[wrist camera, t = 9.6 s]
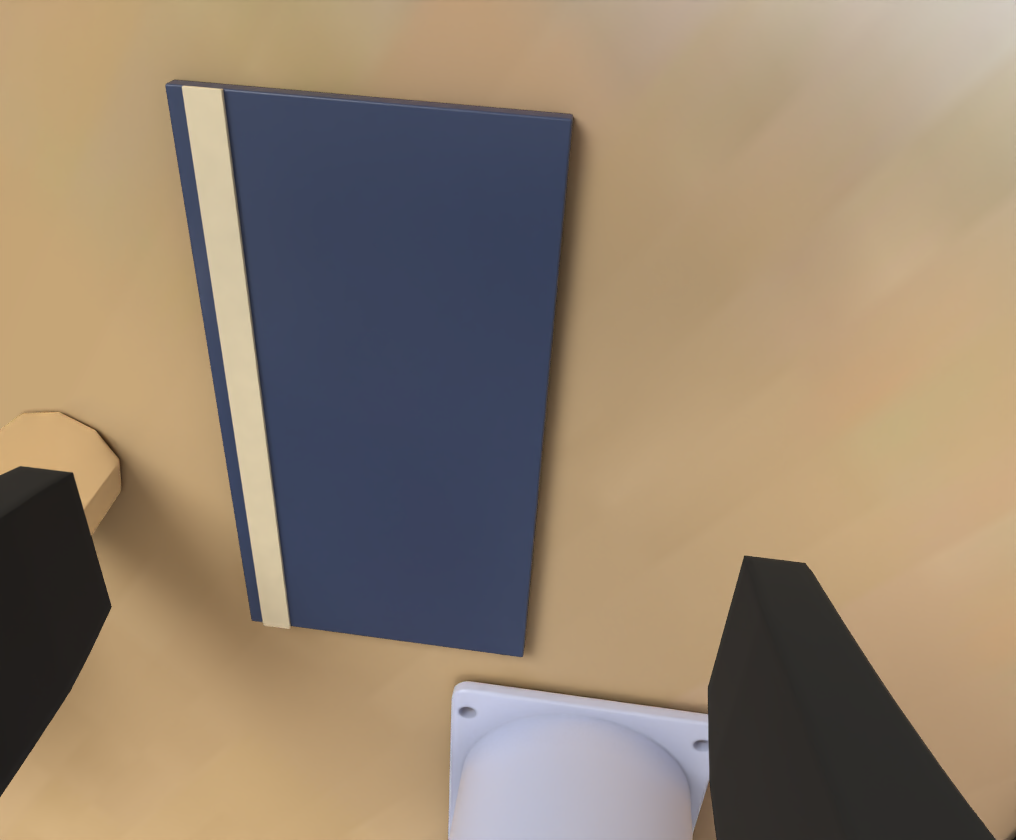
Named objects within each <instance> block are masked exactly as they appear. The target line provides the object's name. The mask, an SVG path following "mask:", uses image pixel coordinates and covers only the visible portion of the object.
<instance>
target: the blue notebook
mask: <svg viewBox="0 0 1016 840" xmlns="http://www.w3.org/2000/svg"><path fill="white" fill-rule="evenodd" d="M166 93H167V99H168V105H169V111H170V117H171V124H172V130H173V136H174V142H175V148H176V154H177V161H178V167H179V173H180V179H181V185H182V192H183V198H184V204H185V210H186V216H187V223H188V229H189V235H190V241H191V247H192V254H193V260H194V266H195V272H196V278H197V285H198V291H199V297H200V303H201V309H202V316H203V322H204V328H205V334H206V340H207V346H208V353H209V359H210V365H211V371H212V377H213V384H214V390H215V396H216V402H217V408H218V415H219V421H220V427H221V433H222V439H223V446H224V452H225V458H226V464H227V470H228V477H229V483H230V489H231V495H232V501H233V507H234V514H235V520H236V526H237V532H238V538H239V545H240V551H241V557H242V563H243V569H244V576H245V582H246V588H247V594H248V600H249V607H250V613H251V619H252V621H258V622H263V625H264V626H271V627H278V628H286V629H290V628H291V626H295V627H302V628H310V629H317V630H325V631H332V632H339V633H347V634H354V635H362V636H369V637H376V638H384V639H391V640H399V641H406V642H413V643H421V644H428V645H436V646H443V647H450V648H458V649H465V650H473V651H480V652H487V653H495V654H502V655H510V656H517V657H523V654H524V647H525V636H526V625H527V614H528V603H529V592H530V582H531V571H532V560H533V549H534V538H535V527H536V517H537V506H538V495H539V484H540V473H541V462H542V451H543V441H544V430H545V419H546V408H547V397H548V386H549V376H550V365H551V354H552V343H553V332H554V321H555V310H556V300H557V289H558V278H559V267H560V256H561V245H562V234H563V224H564V213H565V202H566V191H567V180H568V169H569V159H570V148H571V137H572V126H573V115H572V114H563V113H552V112H540V111H529V110H517V109H506V108H494V107H482V106H471V105H459V104H448V103H436V102H425V101H413V100H402V99H390V98H379V97H367V96H356V95H344V94H333V93H321V92H309V91H298V90H286V89H275V88H263V87H252V86H240V85H229V84H217V83H206V82H194V81H183V80H173V81H171V82H169V83H167V84H166Z"/></svg>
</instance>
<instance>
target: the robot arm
mask: <svg viewBox="0 0 1016 840" xmlns="http://www.w3.org/2000/svg"><path fill="white" fill-rule="evenodd" d="M111 607H112V606H111V603H110V599H109V596H108V592H107V589H106V585H105V582H104V579H103V575H102V572H101V568H100V565H99V561H98V558H97V554H96V551H95V547H94V544H93V540H92V537H91V533H90V530H89V526H88V523H87V519H86V516H85V512H84V509H83V505H82V502H81V498H80V495H79V491H78V488H77V484H76V481H75V477H74V474H73V472H65V471H57V470H49V469H41V468H33V467H25V466H19V467H17V468H15V469H12V470H10V471H8V472H6V473H4V474H2V475H0V797H1V795H2V794H3V792H4V791H5V789H6V788H7V786H8V785H9V783H10V782H11V780H12V779H13V777H14V776H15V774H16V773H17V771H18V770H19V768H20V767H21V765H22V764H23V762H24V761H25V759H26V758H27V756H28V755H29V753H30V752H31V750H32V749H33V747H34V746H35V744H36V743H37V741H38V740H39V738H40V737H41V735H42V734H43V732H44V731H45V729H46V728H47V726H48V725H49V723H50V722H51V720H52V718H53V717H54V715H55V714H56V712H57V711H58V709H59V708H60V706H61V705H62V703H63V701H64V700H65V698H66V697H67V695H68V694H69V692H70V691H71V689H72V687H73V685H74V683H75V681H76V679H77V677H78V675H79V673H80V671H81V669H82V667H83V665H84V664H85V662H86V660H87V658H88V656H89V654H90V652H91V650H92V648H93V645H94V643H95V641H96V639H97V637H98V635H99V633H100V631H101V628H102V626H103V624H104V622H105V620H106V618H107V616H108V614H109V611H110V609H111ZM708 782H710V790H711V799H712V807H713V815H714V823H715V831H716V838H717V840H996V839H995V838H994V836H993V835H992V834H991V833H990V831H989V830H988V829H987V827H986V826H985V825H984V823H983V822H982V821H981V820H980V818H979V817H978V816H977V814H976V813H975V812H974V811H973V809H972V808H971V807H970V805H969V804H968V803H967V801H966V800H965V799H964V797H963V796H962V794H961V793H960V792H959V790H958V789H957V788H956V786H955V785H954V784H953V782H952V781H951V780H950V778H949V777H948V776H947V774H946V773H945V771H944V770H943V769H942V767H941V766H940V765H939V763H938V762H937V760H936V759H935V757H934V756H933V755H932V753H931V752H930V750H929V749H928V747H927V746H926V745H925V743H924V742H923V740H922V739H921V737H920V736H919V735H918V733H917V732H916V730H915V729H914V727H913V726H912V725H911V723H910V722H909V720H908V719H907V718H906V716H905V715H904V713H903V712H902V710H901V709H900V708H899V706H898V705H897V703H896V702H895V700H894V699H893V697H892V696H891V694H890V693H889V691H888V690H887V688H886V687H885V685H884V684H883V682H882V681H881V679H880V678H879V676H878V675H877V673H876V672H875V670H874V669H873V667H872V666H871V664H870V663H869V661H868V659H867V658H866V656H865V655H864V653H863V652H862V650H861V649H860V647H859V646H858V644H857V643H856V641H855V639H854V638H853V636H852V635H851V633H850V632H849V630H848V628H847V627H846V625H845V624H844V622H843V620H842V619H841V617H840V616H839V614H838V612H837V611H836V609H835V608H834V606H833V604H832V603H831V601H830V600H829V598H828V596H827V595H826V593H825V592H824V590H823V588H822V587H821V585H820V583H819V582H818V580H817V579H816V577H815V575H814V574H813V572H812V571H811V570H810V569H809V567H808V566H807V565H806V563H800V562H792V561H784V560H776V559H768V558H760V557H752V556H744V559H743V562H742V566H741V570H740V573H739V577H738V581H737V584H736V588H735V591H734V595H733V599H732V602H731V606H730V610H729V613H728V617H727V620H726V624H725V628H724V631H723V635H722V638H721V642H720V646H719V649H718V653H717V657H716V660H715V664H714V667H713V671H712V675H711V678H710V682H709V686H708V714H704V713H697V712H690V711H683V710H675V709H668V708H661V707H654V706H646V705H639V704H632V703H625V702H617V701H610V700H603V699H596V698H588V697H581V696H574V695H567V694H559V693H552V692H545V691H538V690H530V689H523V688H516V687H509V686H501V685H494V684H487V683H480V682H472V681H464V682H461V683H458V684H457V685H456V686H455V687H454V690H453V695H452V707H451V747H450V788H449V829H448V840H693V836H692V835H693V832H694V828H695V825H696V822H697V818H698V815H699V812H700V809H701V805H702V802H703V799H704V795H705V792H706V789H707V786H708Z"/></svg>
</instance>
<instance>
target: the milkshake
mask: <svg viewBox="0 0 1016 840" xmlns="http://www.w3.org/2000/svg"><path fill="white" fill-rule="evenodd" d="M19 466H25V467H33V468H41V469H49V470H57V471H65V472H73V474H74V477H75V481H76V484H77V488H78V491H79V495H80V498H81V502H82V505H83V509H84V512H85V516H86V519H87V523H88V526H89V530H90V533H91V536H92V534H93V533H94V531H95V530H96V528H97V526H98V525H99V523H100V522H101V520H102V519H103V517H104V516H105V514H106V513H107V511H108V510H109V508H110V507H111V505H112V504H113V502H114V501H115V499H116V498H117V496H118V495H119V493H120V491H121V489H122V487H121V475H120V460H119V458H118V457H117V456H116V455H115V454H114V452H113V451H112V450H111V449H110V447H109V446H108V445H107V444H106V442H105V441H104V440H103V439H102V437H101V436H100V435H99V434H98V432H97V431H96V430H94V429H92V428H90V427H88V426H86V425H84V424H82V423H80V422H78V421H76V420H74V419H72V418H70V417H68V416H66V415H64V414H62V413H60V412H40V413H22V414H20V415H19V416H17V417H16V418H15V419H13V420H12V421H11V422H9V423H8V424H7V425H5V426H4V427H3V428H1V429H0V475H2V474H4V473H6V472H8V471H10V470H12V469H15V468H17V467H19Z"/></svg>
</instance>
